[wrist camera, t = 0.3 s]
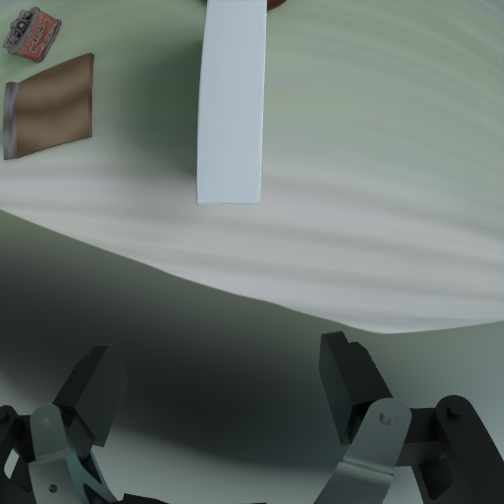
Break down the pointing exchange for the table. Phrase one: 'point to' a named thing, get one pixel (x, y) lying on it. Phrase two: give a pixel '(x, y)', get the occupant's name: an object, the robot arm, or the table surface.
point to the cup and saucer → (274, 4)
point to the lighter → (32, 34)
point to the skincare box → (231, 103)
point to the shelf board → (49, 108)
